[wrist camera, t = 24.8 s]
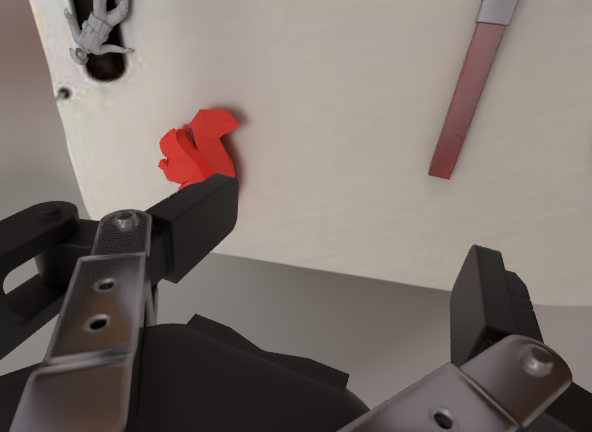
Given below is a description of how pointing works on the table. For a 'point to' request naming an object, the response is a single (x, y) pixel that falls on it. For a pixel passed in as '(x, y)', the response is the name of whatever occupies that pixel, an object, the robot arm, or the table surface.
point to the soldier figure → (96, 30)
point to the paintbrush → (471, 83)
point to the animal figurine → (198, 149)
